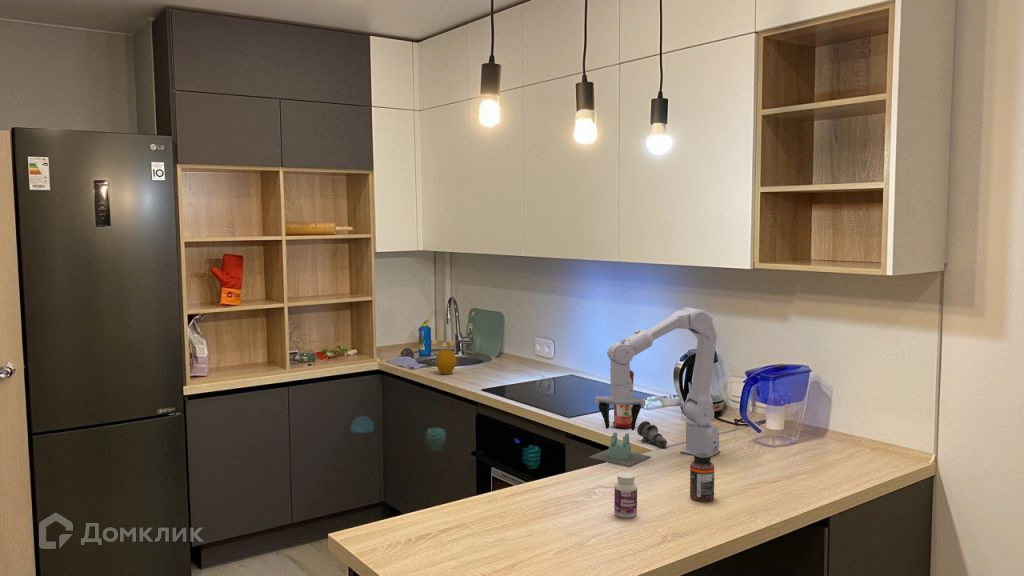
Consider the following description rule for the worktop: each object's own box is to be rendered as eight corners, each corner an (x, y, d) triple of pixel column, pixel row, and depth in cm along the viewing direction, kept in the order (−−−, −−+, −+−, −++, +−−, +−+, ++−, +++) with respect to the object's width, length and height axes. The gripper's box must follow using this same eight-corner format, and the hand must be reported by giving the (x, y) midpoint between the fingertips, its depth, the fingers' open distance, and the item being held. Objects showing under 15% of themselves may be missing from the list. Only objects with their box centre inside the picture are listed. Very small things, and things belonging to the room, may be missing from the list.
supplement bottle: (687, 494, 202) (688, 451, 202) (711, 494, 202) (711, 451, 201) (692, 502, 197) (692, 457, 196) (716, 502, 196) (716, 457, 195)
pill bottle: (621, 520, 185) (622, 480, 184) (610, 512, 190) (610, 473, 189) (641, 516, 187) (641, 476, 186) (629, 509, 192) (629, 470, 191)
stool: (630, 454, 236) (630, 433, 236) (627, 459, 231) (627, 437, 231) (612, 453, 238) (612, 431, 237) (609, 458, 233) (609, 436, 232)
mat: (650, 457, 234) (650, 456, 234) (629, 467, 225) (629, 465, 225) (611, 449, 243) (611, 447, 243) (588, 458, 234) (588, 456, 234)
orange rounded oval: (461, 373, 369) (460, 349, 368) (445, 376, 362) (445, 351, 361) (447, 371, 376) (446, 347, 375) (431, 374, 369) (431, 349, 368)
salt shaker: (643, 439, 255) (666, 457, 245) (633, 431, 252) (655, 448, 242) (654, 425, 255) (677, 442, 245) (644, 417, 252) (666, 433, 242)
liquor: (618, 430, 265) (618, 348, 263) (608, 425, 272) (608, 345, 270) (637, 428, 268) (637, 347, 266) (627, 423, 275) (627, 344, 272)
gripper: (646, 381, 234) (646, 426, 235) (598, 379, 239) (598, 423, 240) (643, 386, 227) (643, 432, 229) (593, 384, 232) (594, 429, 233)
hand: (620, 428), depth 234 cm, fingers open, 7 cm apart
